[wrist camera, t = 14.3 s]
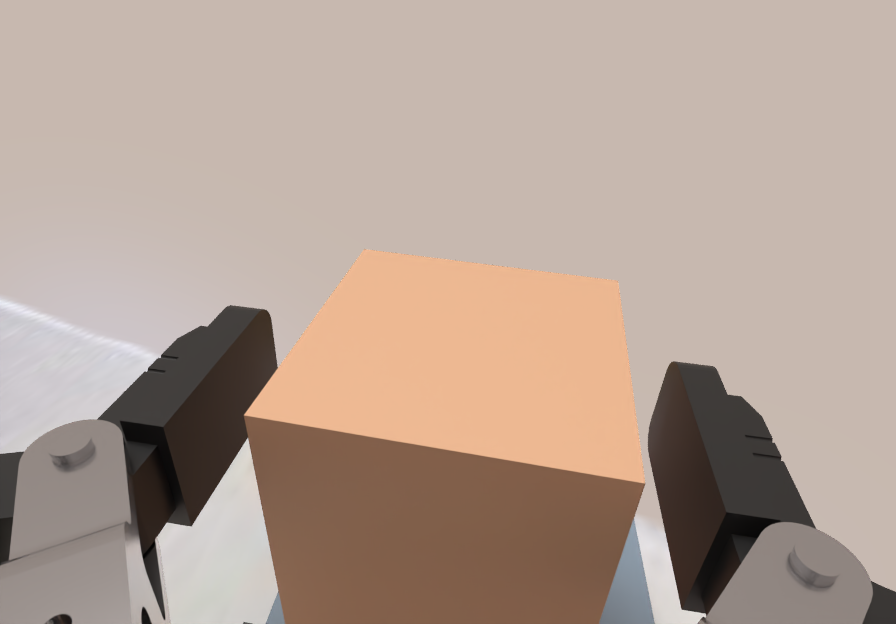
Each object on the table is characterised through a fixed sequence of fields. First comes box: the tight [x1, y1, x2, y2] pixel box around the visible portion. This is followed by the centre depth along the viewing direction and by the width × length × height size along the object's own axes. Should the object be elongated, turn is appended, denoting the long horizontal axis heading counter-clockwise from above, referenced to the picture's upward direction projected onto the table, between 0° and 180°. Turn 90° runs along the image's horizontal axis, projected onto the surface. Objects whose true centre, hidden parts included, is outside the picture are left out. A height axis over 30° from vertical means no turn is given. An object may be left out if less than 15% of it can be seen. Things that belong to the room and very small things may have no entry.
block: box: [244, 249, 645, 624], centre depth 12 cm, size 6×6×9 cm
